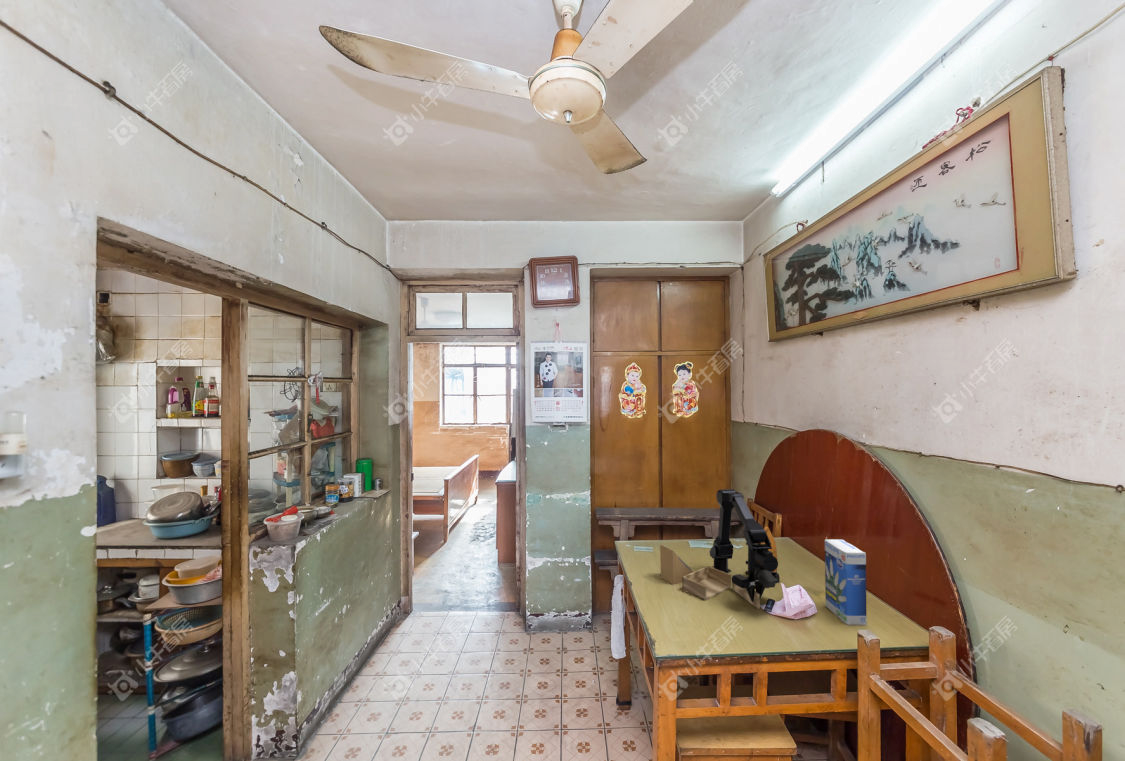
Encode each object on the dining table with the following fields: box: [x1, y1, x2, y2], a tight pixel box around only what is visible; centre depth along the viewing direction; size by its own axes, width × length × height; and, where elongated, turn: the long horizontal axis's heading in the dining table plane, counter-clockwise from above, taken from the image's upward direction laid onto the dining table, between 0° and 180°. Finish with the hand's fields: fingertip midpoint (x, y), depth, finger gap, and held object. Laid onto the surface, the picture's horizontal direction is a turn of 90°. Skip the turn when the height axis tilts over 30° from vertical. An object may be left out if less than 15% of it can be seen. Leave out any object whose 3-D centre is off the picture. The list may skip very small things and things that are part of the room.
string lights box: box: [824, 538, 868, 626], centre depth 157 cm, size 13×8×26 cm, turn 178°
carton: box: [681, 565, 732, 601], centre depth 178 cm, size 18×11×5 cm, turn 126°
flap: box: [731, 574, 761, 610], centre depth 169 cm, size 17×1×6 cm, turn 11°
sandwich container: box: [659, 544, 694, 586], centre depth 189 cm, size 9×15×15 cm, turn 117°
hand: (755, 600), depth 165 cm, fingers open, 3 cm apart
